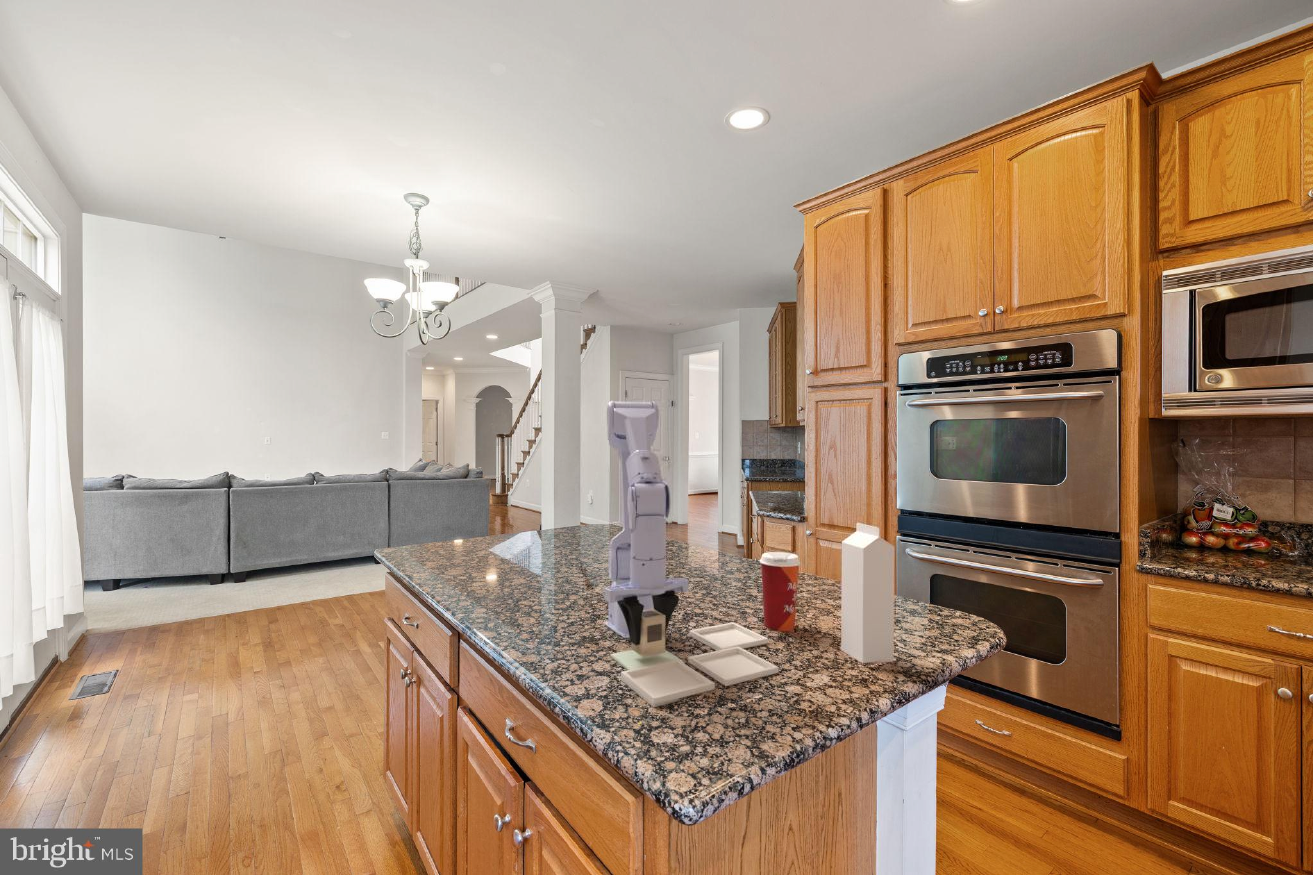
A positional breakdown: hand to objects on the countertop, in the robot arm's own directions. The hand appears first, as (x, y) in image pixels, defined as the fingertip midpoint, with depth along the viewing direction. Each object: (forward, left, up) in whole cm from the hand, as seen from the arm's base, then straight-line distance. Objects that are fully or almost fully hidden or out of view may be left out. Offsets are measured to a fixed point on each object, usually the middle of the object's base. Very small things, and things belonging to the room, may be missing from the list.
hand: (647, 640), depth 92 cm
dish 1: (+9, -2, -3) cm, 10 cm away
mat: (0, 0, -3) cm, 3 cm away
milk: (+16, +33, -3) cm, 37 cm away
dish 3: (+9, +10, -3) cm, 14 cm away
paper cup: (-2, +30, -3) cm, 30 cm away
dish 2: (-1, +17, -3) cm, 17 cm away
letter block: (0, 0, -2) cm, 2 cm away
